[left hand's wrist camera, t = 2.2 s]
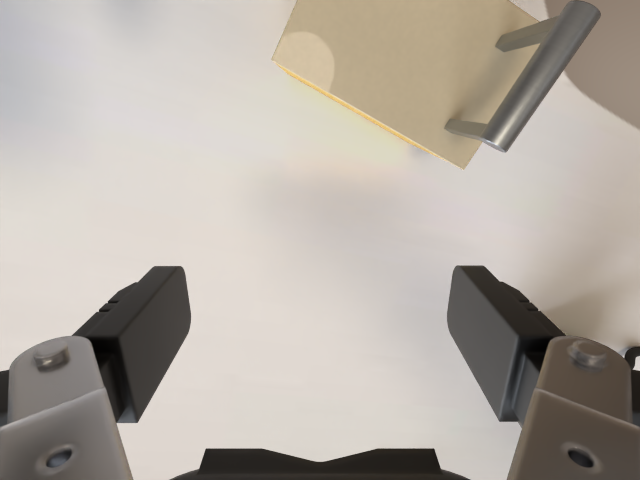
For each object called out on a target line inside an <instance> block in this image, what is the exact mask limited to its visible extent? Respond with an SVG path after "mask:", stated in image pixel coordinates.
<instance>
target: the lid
mask: <svg viewBox="0 0 640 480" xmlns="http://www.w3.org/2000/svg"><path fill="white" fill-rule="evenodd" d="M600 16H601V13H600V11H599V10H598V9H597V8H596V7H595V6H593V5H592V4H590V3H587V2H584V1H578V0H575V1H570V2H568V3H567V4H566V6H565V7H564V9H563V10H562V12H561V13H560V15H558V16H556V17H553V18H550V19H547V20H544V21H541V22H539V21H538V20H536V19H535V18H533V17H532V16H530V15H529V14H528V13H526V12H525V11H523V10H522V9H520V8H519V7H517V6H516V5H514V4H513V3H511V2H510V1H509V0H297V2H296V4H295V7H294V9H293V11H292V14H291V16H290V18H289V20H288V23H287V25H286V27H285V30H284V32H283V34H282V36H281V39H280V41H279V43H278V46H277V48H276V50H275V52H274V55H273V57H272V61H273V62H274V63H276V64H278V65H280V66H281V67H283V68H285V69H287V70H288V71H290V72H292V73H294V74H295V75H297V76H299V77H301V78H302V79H304V80H306V81H308V82H309V83H311V84H313V85H315V86H316V87H318V88H320V89H322V90H323V91H325V92H327V93H329V94H330V95H332V96H334V97H336V98H337V99H339V100H341V101H343V102H344V103H346V104H348V105H349V106H351V107H353V108H355V109H356V110H358V111H360V112H362V113H363V114H365V115H367V116H369V117H370V118H372V119H374V120H376V121H377V122H379V123H381V124H383V125H384V126H386V127H388V128H390V129H391V130H393V131H395V132H397V133H398V134H400V135H402V136H404V137H405V138H407V139H409V140H411V141H412V142H414V143H416V144H418V145H419V146H421V147H423V148H425V149H426V150H428V151H430V152H432V153H433V154H435V155H437V156H439V157H440V158H442V159H444V160H446V161H447V162H449V163H451V164H452V165H454V166H456V167H458V168H460V169H462V170H464V169H465V167H466V166H467V164H468V163H469V161H470V160H471V158H472V157H473V155H474V154H475V152H476V151H477V149H478V148H479V146H480V145H481V143H482V142H484V143H485V144H487V145H489V146H491V147H493V148H495V149H497V150H499V151H501V152H507V151H508V149H509V148H510V146H511V145H512V144H513V142H514V141H515V139H516V138H517V136H518V135H519V133H520V132H521V131H522V129H523V128H524V126H525V125H526V123H527V122H528V120H529V119H530V118H531V116H532V115H533V113H534V112H535V110H536V109H537V108H538V106H539V105H540V103H541V102H542V100H543V99H544V97H545V96H546V95H547V93H548V92H549V90H550V89H551V87H552V86H553V84H554V83H555V82H556V80H557V79H558V77H559V76H560V74H561V73H562V72H563V70H564V69H565V67H566V66H567V64H568V63H569V61H570V60H571V59H572V57H573V56H574V54H575V53H576V51H577V50H578V49H579V47H580V46H581V44H582V43H583V41H584V40H585V38H586V37H587V36H588V34H589V33H590V31H591V30H592V28H593V27H594V25H595V24H596V23H597V21H598V20H599V18H600Z"/></svg>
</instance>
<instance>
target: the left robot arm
mask: <svg viewBox="0 0 640 480" xmlns="http://www.w3.org/2000/svg"><path fill="white" fill-rule="evenodd" d="M447 322H448V328H449V331H450V334H451V336H452V337H453V339H454V341H455V343H456V344H457V346H458V348H459V350H460V352H461V353H462V355H463V357H464V359H465V361H466V362H467V364H468V366H469V368H470V370H471V371H472V373H473V375H474V377H475V378H476V380H477V382H478V384H479V386H480V387H481V389H482V391H483V393H484V395H485V396H486V398H487V400H488V402H489V404H490V405H491V407H492V409H493V411H494V412H495V414H496V416H497V418H498V420H499V421H500V422H518V423H519V425H520V426H521V428H522V431H521V434H520V437H519V441H518V444H517V447H516V451H515V454H514V457H513V461H512V464H511V467H510V471H509V474H508V477H507V480H640V371H637V370H632V369H633V368H634V366H635V358H636V357H637V356H640V347H637V348H632V349H629V350H628V351H627V352H626V354H625V358H623V357H622V356H621V355H620V354H618V353H617V352H615V351H614V350H612V349H610V348H609V347H607V346H605V345H602V344H600V343H598V342H595V341H592V340H589V339H585V338H581V337H575V336H566V335H565V334H564V333H563V332H562V331H561V330H559V329H558V328H557V327H556V326H555V325H554V324H553V323H552V322H551V321H550V320H549V319H548V318H547V317H546V316H545V315H544V314H543V313H542V312H541V311H538V308H537V307H535V306H534V305H533V304H532V303H529V300H528V299H527V298H526V297H525V296H524V295H523V294H522V293H521V292H520V291H519V290H517V289H515V288H513V287H511V286H509V285H508V284H506V283H504V282H499V281H498V280H497V279H496V278H495V277H494V276H493V275H492V273H491V272H490V271H489V270H488V269H487V268H486V267H484V266H456V267H455V268H454V271H453V275H452V282H451V290H450V297H449V304H448V311H447ZM190 323H191V311H190V304H189V297H188V290H187V283H186V276H185V272H184V269H183V268H182V267H181V266H154V267H153V268H152V269H151V270H150V271H149V272H148V273H147V274H146V275H145V276H144V277H143V278H142V279H141V280H140V281H139V282H135V283H133V284H131V285H129V286H127V287H126V288H124V289H122V290H120V291H118V292H117V293H116V294H115V295H114V296H113V297H112V298H111V299H110V300H109V301H108V303H106V304H105V305H104V306H103V307H102V308H100V309H99V312H96V313H95V314H94V315H93V316H92V317H91V318H90V319H89V320H88V321H87V322H86V323H85V324H84V325H83V326H81V327H80V328H79V329H78V330H77V331H76V332H75V333H74V334H73V335H72V336H65V337H59V338H55V339H51V340H48V341H45V342H42V343H40V344H38V345H35V346H33V347H31V348H30V349H28V350H26V351H25V352H23V353H22V354H20V355H19V356H18V357H17V358H16V359H15V360H14V361H13V362H12V364H11V366H10V369H9V370H6V371H1V372H0V480H133V477H132V474H131V471H130V467H129V464H128V461H127V457H126V454H125V451H124V447H123V444H122V441H121V437H120V434H119V431H118V427H117V424H116V423H138V421H139V419H140V417H141V416H142V414H143V412H144V410H145V409H146V407H147V405H148V403H149V402H150V400H151V398H152V396H153V395H154V393H155V391H156V389H157V387H158V386H159V384H160V382H161V380H162V379H163V377H164V375H165V373H166V372H167V370H168V368H169V366H170V364H171V363H172V361H173V359H174V357H175V356H176V354H177V352H178V350H179V349H180V347H181V345H182V343H183V341H184V340H185V338H186V336H187V334H188V332H189V329H190ZM170 480H470V479H468V478H465V477H463V476H461V475H458V474H455V473H452V472H449V471H446V470H442V469H441V468H440V465H439V462H438V459H437V456H436V453H435V450H434V449H375V450H371V451H366V452H362V453H358V454H354V455H350V456H346V457H342V458H338V459H334V460H330V461H325V462H315V461H310V460H306V459H302V458H298V457H294V456H290V455H286V454H282V453H278V452H274V451H269V450H265V449H206V450H205V453H204V456H203V459H202V462H201V465H200V468H199V469H198V470H194V471H191V472H188V473H185V474H182V475H179V476H177V477H175V478H172V479H170Z"/></svg>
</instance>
